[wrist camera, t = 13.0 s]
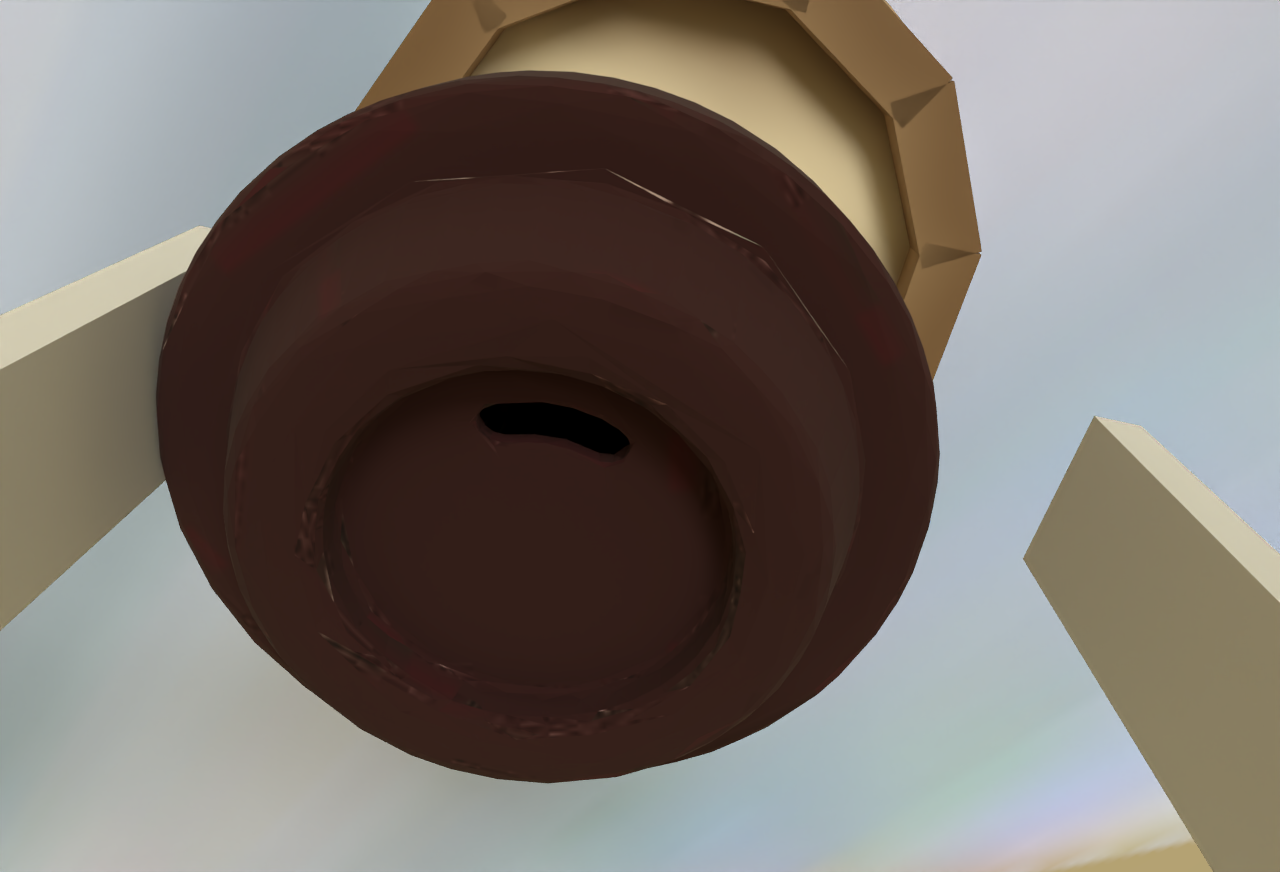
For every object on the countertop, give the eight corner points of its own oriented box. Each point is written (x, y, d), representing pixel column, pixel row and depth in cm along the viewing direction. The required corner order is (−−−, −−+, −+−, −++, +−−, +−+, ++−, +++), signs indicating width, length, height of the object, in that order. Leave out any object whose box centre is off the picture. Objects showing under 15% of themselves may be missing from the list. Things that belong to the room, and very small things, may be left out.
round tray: (384, -167, 20) (358, -185, 18) (1059, -7, 21) (1092, -10, 19) (346, 451, 27) (325, 478, 25) (850, 549, 28) (861, 582, 26)
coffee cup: (612, 477, 26) (551, 970, 12) (351, 244, 23) (-97, 558, 10) (873, 251, 23) (1171, 586, 9) (607, -53, 20) (477, -211, 6)
